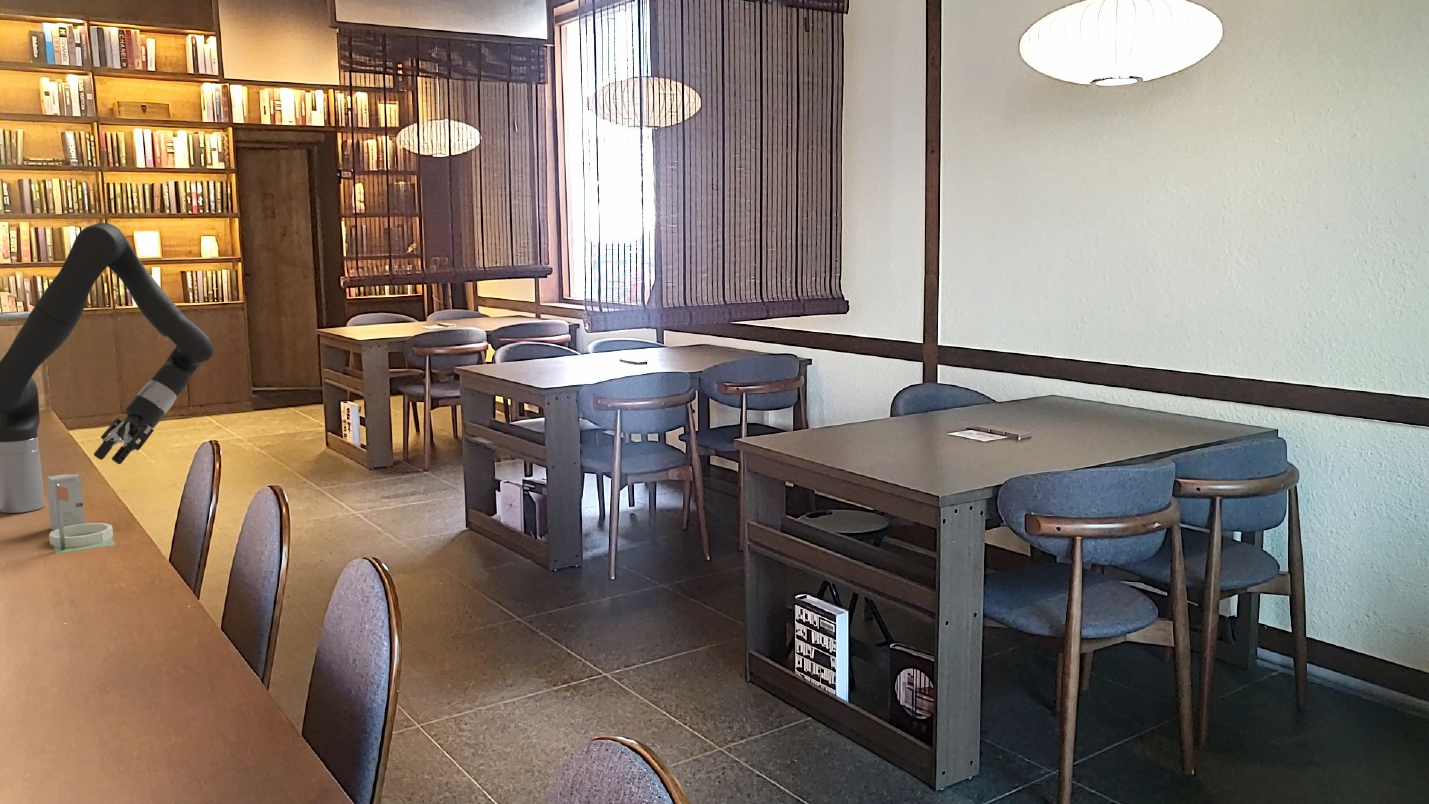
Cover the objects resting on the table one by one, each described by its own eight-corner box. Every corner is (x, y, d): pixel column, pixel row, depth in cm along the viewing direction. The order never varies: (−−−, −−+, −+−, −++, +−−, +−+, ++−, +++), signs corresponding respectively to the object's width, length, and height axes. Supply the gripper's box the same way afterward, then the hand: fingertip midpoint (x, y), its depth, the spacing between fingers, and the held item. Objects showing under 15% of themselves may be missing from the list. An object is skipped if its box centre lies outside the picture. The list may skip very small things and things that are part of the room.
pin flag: (60, 549, 231) (53, 484, 228) (64, 548, 231) (57, 483, 229) (71, 553, 228) (64, 487, 226) (75, 552, 228) (68, 486, 226)
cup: (40, 541, 237) (39, 532, 237) (96, 529, 246) (95, 520, 246) (66, 550, 230) (65, 540, 230) (122, 537, 240) (121, 528, 239)
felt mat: (49, 535, 243) (49, 533, 243) (106, 527, 249) (106, 526, 249) (55, 555, 228) (55, 553, 228) (115, 546, 234) (115, 544, 234)
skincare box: (55, 533, 245) (50, 480, 243) (50, 529, 248) (44, 476, 246) (86, 528, 249) (81, 475, 247) (81, 524, 252) (75, 472, 250)
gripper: (124, 391, 263) (78, 447, 255) (155, 396, 255) (108, 454, 247) (148, 410, 268) (104, 465, 260) (179, 416, 260) (134, 472, 252)
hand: (106, 459), depth 254 cm, fingers open, 8 cm apart
